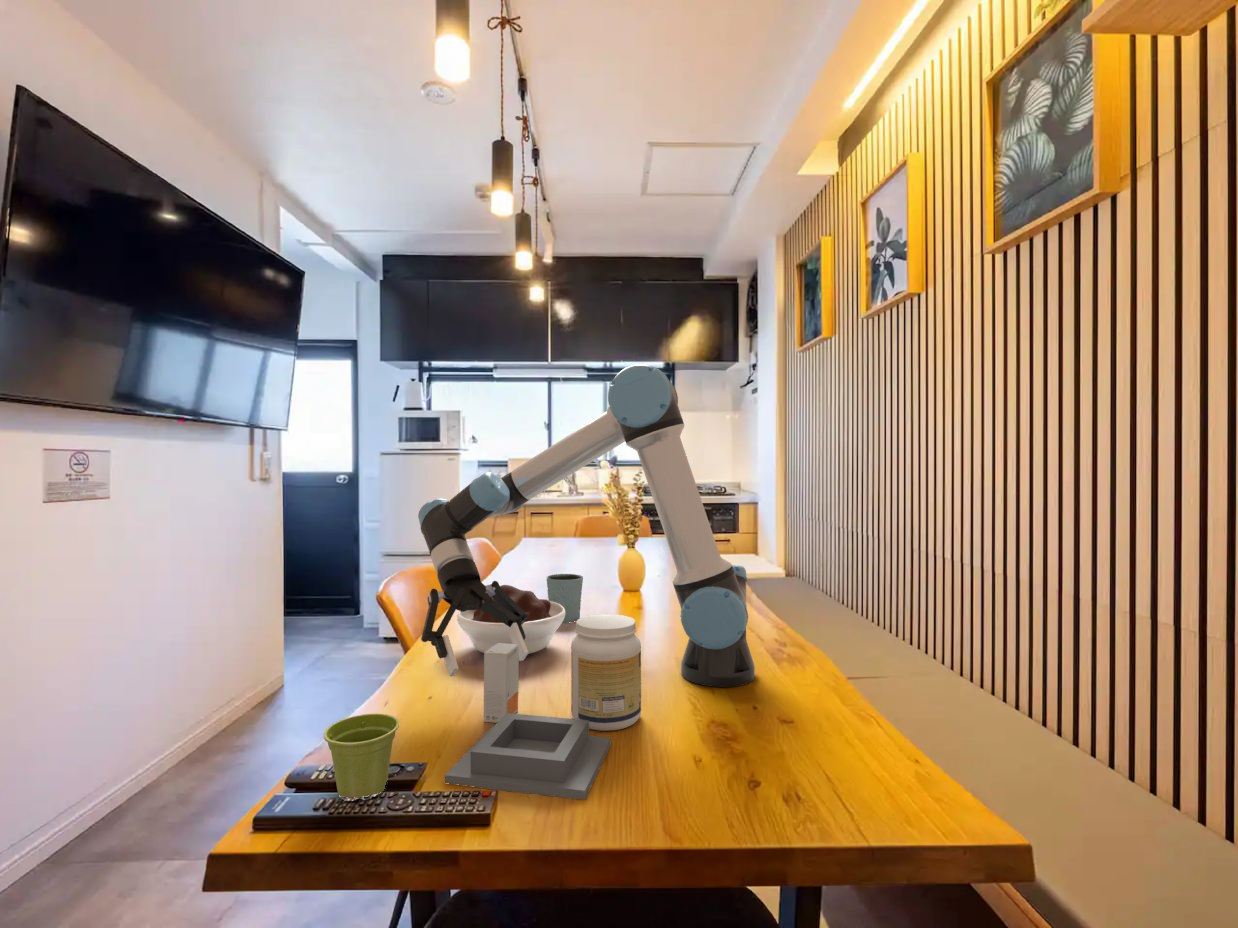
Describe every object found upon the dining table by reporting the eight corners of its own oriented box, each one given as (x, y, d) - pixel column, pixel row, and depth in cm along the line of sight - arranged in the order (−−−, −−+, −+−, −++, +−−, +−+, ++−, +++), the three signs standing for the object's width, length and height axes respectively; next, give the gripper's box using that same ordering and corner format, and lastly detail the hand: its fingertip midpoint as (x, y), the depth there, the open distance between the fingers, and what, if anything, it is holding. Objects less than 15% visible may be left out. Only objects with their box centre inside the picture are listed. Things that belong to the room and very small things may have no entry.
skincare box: (506, 724, 106) (506, 653, 106) (482, 722, 107) (482, 652, 107) (519, 710, 112) (519, 643, 112) (496, 708, 113) (496, 642, 113)
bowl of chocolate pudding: (576, 638, 157) (576, 578, 157) (548, 671, 132) (548, 600, 132) (482, 633, 161) (482, 574, 161) (437, 664, 137) (437, 595, 137)
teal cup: (542, 622, 171) (542, 579, 171) (552, 613, 181) (552, 572, 181) (578, 624, 170) (578, 580, 170) (586, 615, 180) (586, 573, 180)
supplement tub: (654, 723, 106) (654, 624, 106) (590, 739, 100) (590, 633, 100) (619, 699, 117) (619, 608, 117) (559, 712, 111) (559, 616, 111)
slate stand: (610, 745, 98) (610, 718, 98) (585, 799, 83) (585, 767, 83) (490, 733, 102) (491, 708, 102) (444, 783, 87) (444, 753, 87)
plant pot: (353, 818, 78) (353, 749, 78) (309, 796, 83) (308, 731, 83) (413, 785, 86) (413, 722, 86) (370, 767, 91) (370, 708, 91)
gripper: (506, 572, 132) (543, 661, 121) (386, 587, 117) (415, 690, 105) (518, 550, 128) (558, 640, 117) (396, 562, 113) (427, 667, 101)
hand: (490, 664), depth 111 cm, fingers open, 13 cm apart
